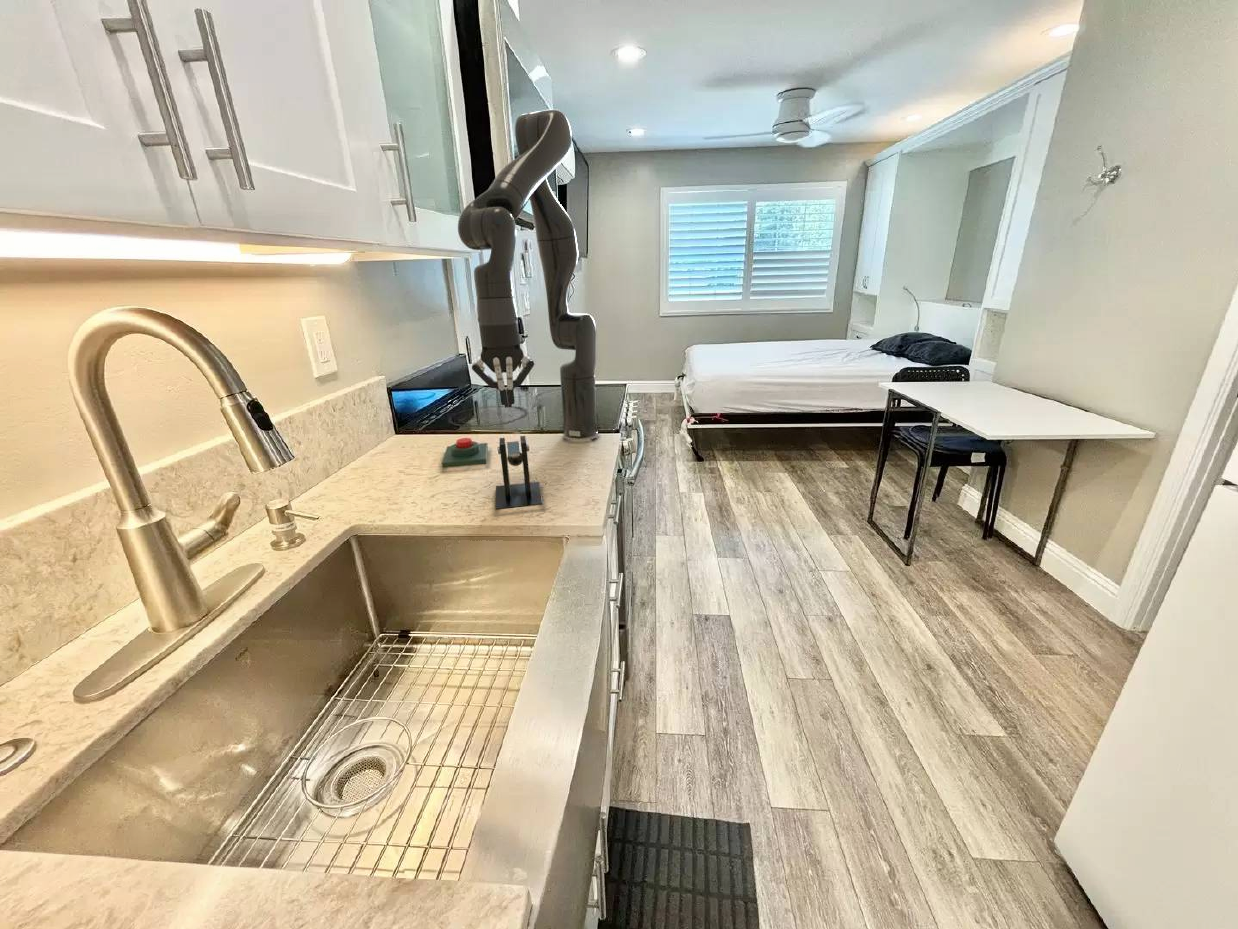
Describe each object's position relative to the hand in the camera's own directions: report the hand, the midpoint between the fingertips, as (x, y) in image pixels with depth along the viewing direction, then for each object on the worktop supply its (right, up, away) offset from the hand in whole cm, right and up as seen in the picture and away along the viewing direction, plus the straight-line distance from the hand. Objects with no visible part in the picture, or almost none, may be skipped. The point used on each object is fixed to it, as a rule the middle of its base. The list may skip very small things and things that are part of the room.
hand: (508, 406), depth 103 cm
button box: (-14, -11, +18) cm, 26 cm away
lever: (+2, -12, -2) cm, 12 cm away
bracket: (+3, -19, -3) cm, 20 cm away
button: (-14, -8, +17) cm, 24 cm away
